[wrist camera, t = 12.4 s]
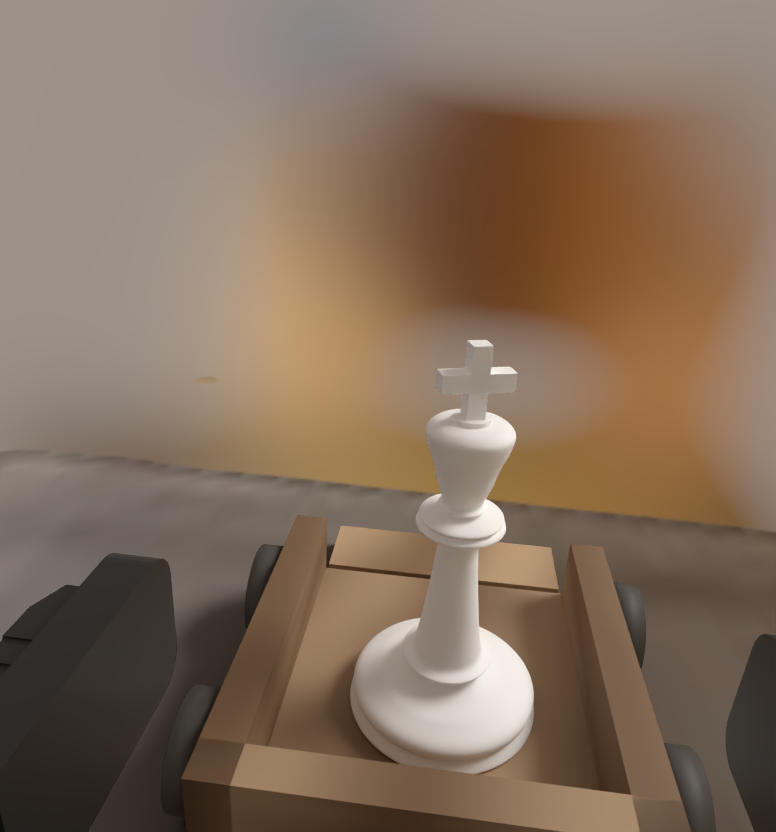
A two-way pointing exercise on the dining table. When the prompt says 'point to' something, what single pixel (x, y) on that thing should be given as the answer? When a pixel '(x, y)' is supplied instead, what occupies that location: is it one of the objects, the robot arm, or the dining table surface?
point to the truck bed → (411, 785)
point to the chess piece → (452, 605)
